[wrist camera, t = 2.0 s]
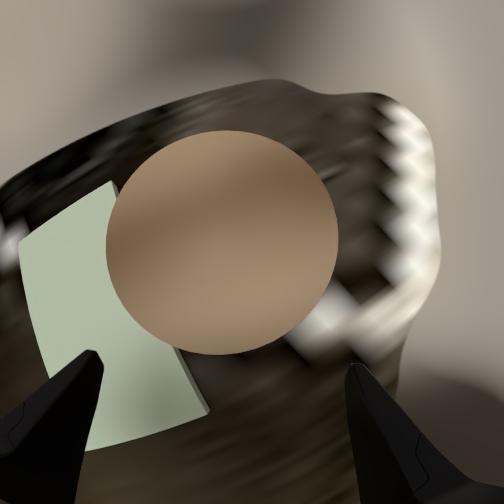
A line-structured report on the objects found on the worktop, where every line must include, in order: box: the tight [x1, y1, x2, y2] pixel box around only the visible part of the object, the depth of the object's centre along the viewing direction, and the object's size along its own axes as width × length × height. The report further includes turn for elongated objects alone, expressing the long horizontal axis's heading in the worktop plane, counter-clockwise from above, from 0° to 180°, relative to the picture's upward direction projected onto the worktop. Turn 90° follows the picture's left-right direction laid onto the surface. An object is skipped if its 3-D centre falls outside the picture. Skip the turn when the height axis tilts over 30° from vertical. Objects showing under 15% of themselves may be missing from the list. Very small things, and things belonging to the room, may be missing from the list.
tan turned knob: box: [106, 131, 338, 355], centre depth 15 cm, size 7×7×13 cm
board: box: [18, 181, 210, 451], centre depth 20 cm, size 20×12×1 cm, turn 27°
